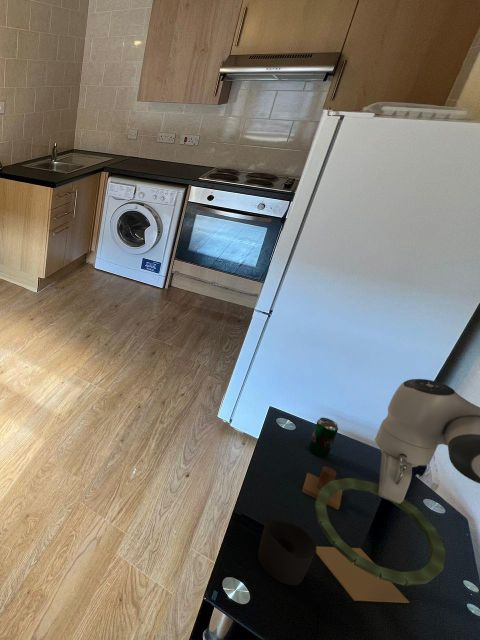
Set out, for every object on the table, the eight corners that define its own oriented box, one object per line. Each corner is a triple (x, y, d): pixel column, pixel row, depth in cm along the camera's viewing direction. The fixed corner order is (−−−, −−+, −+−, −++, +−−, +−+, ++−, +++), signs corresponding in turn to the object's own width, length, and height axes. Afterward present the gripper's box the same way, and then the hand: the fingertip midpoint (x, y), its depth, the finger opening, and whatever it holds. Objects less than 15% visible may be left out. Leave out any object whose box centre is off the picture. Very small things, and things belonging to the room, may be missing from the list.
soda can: (309, 444, 134) (319, 414, 131) (328, 452, 131) (339, 422, 127) (306, 452, 131) (317, 421, 127) (327, 461, 127) (338, 430, 124)
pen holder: (292, 596, 90) (305, 564, 87) (247, 559, 97) (257, 528, 94) (311, 574, 94) (323, 543, 91) (267, 540, 102) (277, 510, 99)
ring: (446, 520, 90) (449, 516, 89) (436, 611, 80) (439, 608, 79) (326, 465, 104) (328, 461, 103) (305, 537, 94) (306, 534, 93)
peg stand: (341, 493, 116) (349, 471, 114) (338, 510, 111) (347, 487, 108) (306, 476, 122) (313, 455, 119) (301, 491, 116) (309, 469, 114)
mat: (359, 549, 100) (360, 548, 100) (409, 603, 89) (409, 602, 89) (311, 547, 101) (311, 546, 100) (353, 600, 89) (354, 599, 89)
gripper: (425, 478, 82) (402, 528, 87) (423, 430, 96) (402, 476, 100) (382, 460, 87) (362, 509, 91) (386, 417, 100) (368, 461, 104)
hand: (383, 491), depth 96 cm, fingers closed on ring, 2 cm apart
